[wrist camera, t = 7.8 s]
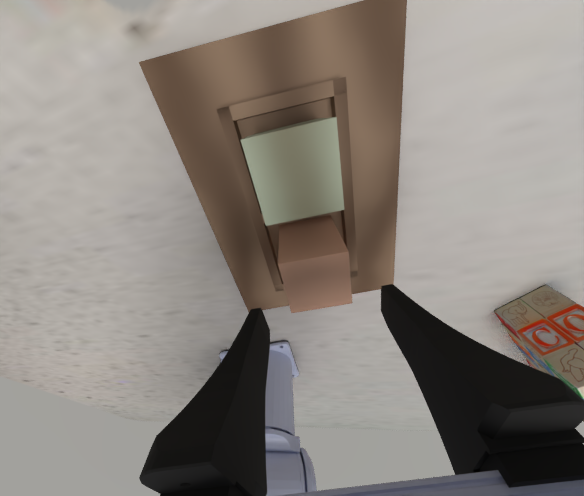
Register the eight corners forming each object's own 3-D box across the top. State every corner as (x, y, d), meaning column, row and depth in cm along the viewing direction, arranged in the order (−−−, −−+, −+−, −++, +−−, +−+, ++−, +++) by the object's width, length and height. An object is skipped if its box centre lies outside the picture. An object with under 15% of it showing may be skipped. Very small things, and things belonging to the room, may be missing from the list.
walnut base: (249, 305, 25) (239, 364, 19) (147, 65, 14) (43, 22, 8) (389, 280, 24) (425, 334, 18) (398, -3, 13) (504, -115, 7)
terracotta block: (289, 266, 21) (291, 313, 16) (279, 225, 19) (277, 264, 14) (334, 257, 21) (352, 303, 16) (330, 215, 19) (348, 251, 13)
